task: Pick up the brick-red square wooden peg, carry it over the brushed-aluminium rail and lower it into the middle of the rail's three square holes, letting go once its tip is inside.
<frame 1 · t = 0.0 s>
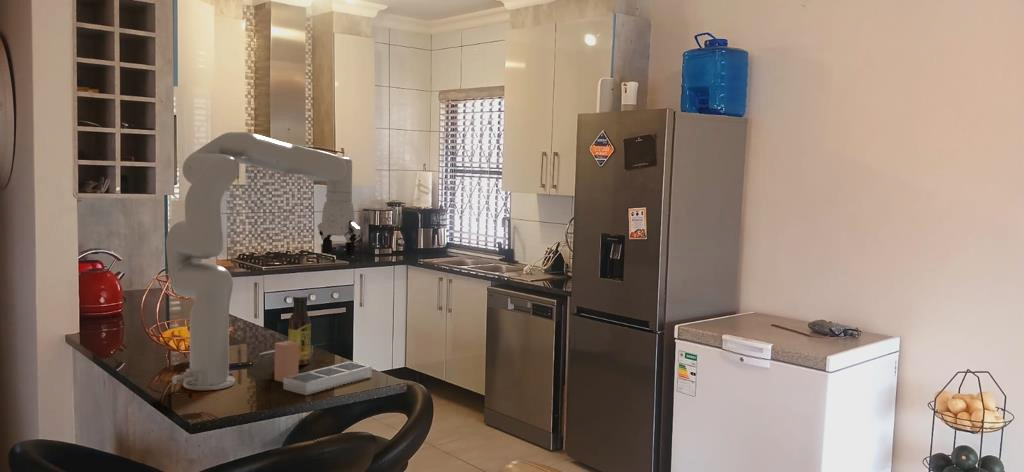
hand: (338, 254, 241), 31 cm above the worktop, fingers open, 9 cm apart
chef's knife: (279, 351, 248), on the worktop
square peg: (286, 379, 214), on the worktop
sauce bottle: (299, 364, 231), on the worktop
hole rail: (329, 382, 212), on the worktop
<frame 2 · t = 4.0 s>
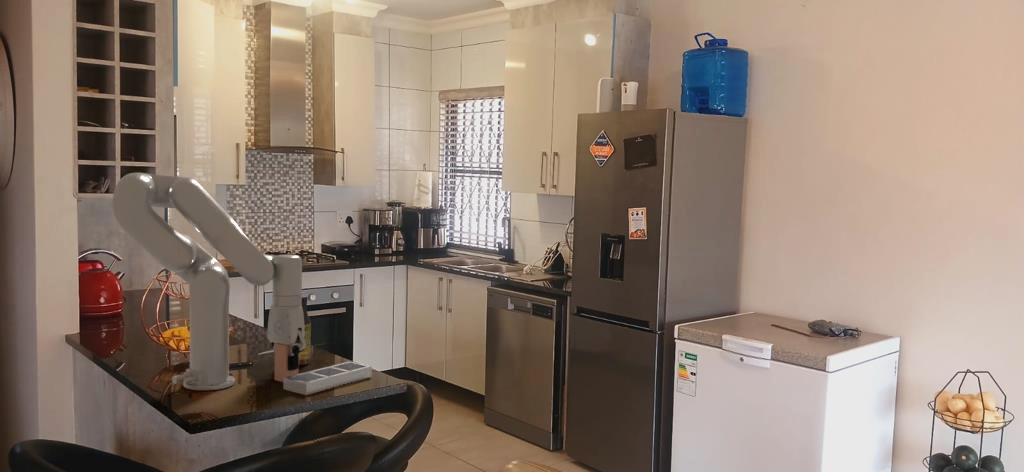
hand: (286, 367, 213), 3 cm above the worktop, fingers closed on square peg, 4 cm apart
square peg: (286, 379, 214), on the worktop, touching gripper
everything else where it was.
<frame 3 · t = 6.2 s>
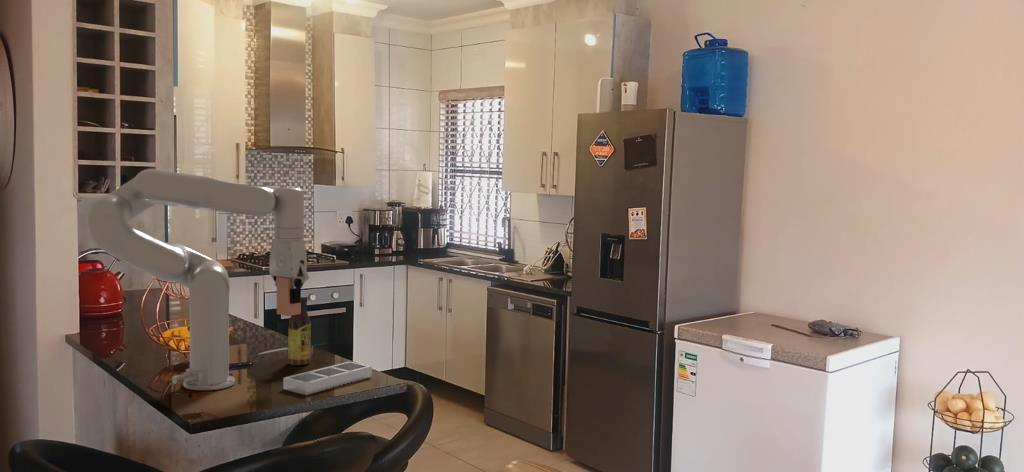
hand: (288, 301, 212), 21 cm above the worktop, fingers closed on square peg, 4 cm apart
square peg: (288, 313, 212), point 18 cm above the worktop, touching gripper
everything else where it was.
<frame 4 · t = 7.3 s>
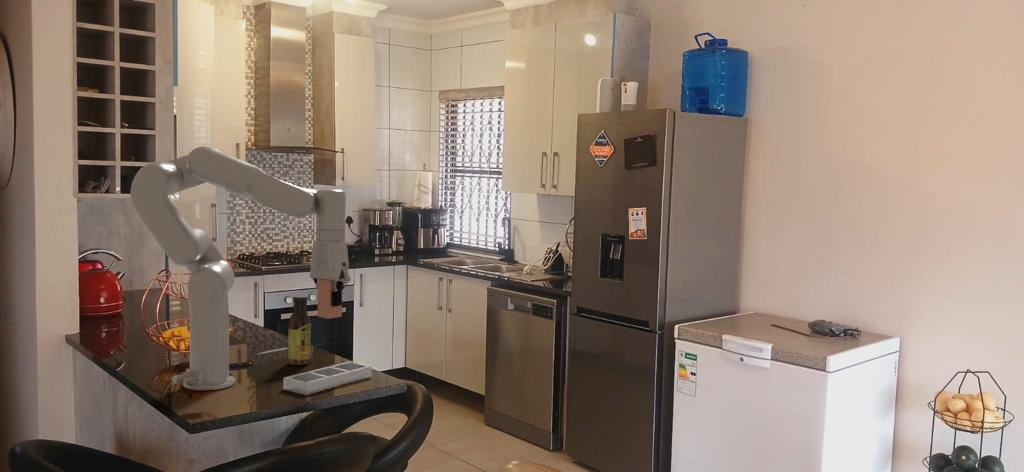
hand: (329, 304, 210), 21 cm above the worktop, fingers closed on square peg, 4 cm apart
square peg: (329, 316, 210), point 18 cm above the worktop, touching gripper
everything else where it was.
when the fingers open (4 cm above the worktop, at t = 10.8 s): square peg stays where it is, resting in hole rail.
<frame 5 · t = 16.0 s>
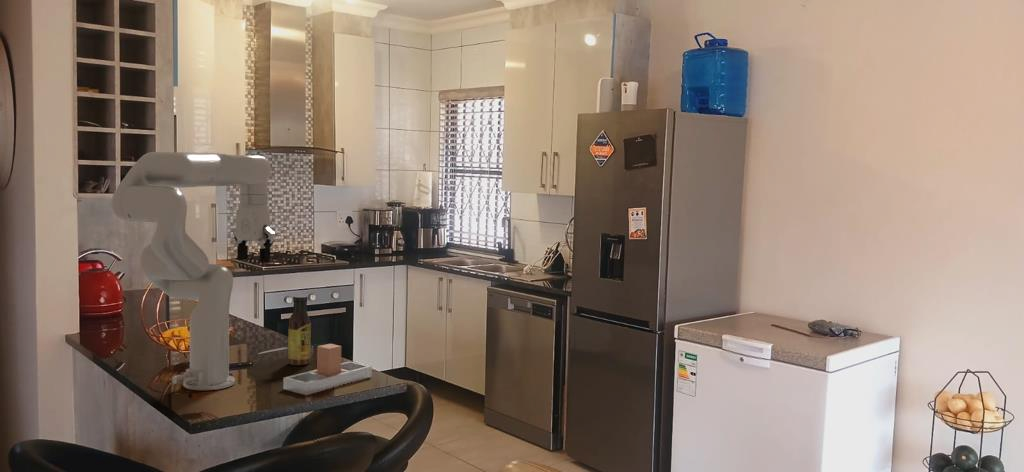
hand: (253, 260, 225), 30 cm above the worktop, fingers open, 9 cm apart
square peg: (328, 383, 212), resting in hole rail
everything else where it was.
at the end: square peg 0.0 cm off-centre on the hole rail, point 0.0 cm above the hole rail's base; square peg tilted 0°; the gripper is holding nothing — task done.
